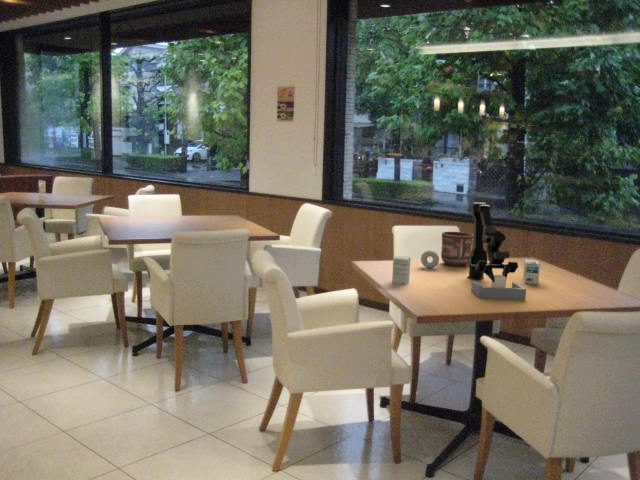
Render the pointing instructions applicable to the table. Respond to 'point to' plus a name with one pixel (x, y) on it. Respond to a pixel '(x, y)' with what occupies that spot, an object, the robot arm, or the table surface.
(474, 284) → the open-front crate
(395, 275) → the supplement box
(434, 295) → the table surface
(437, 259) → the grey ring
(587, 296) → the table surface
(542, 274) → the table surface
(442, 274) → the table surface
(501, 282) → the cream block
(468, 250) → the pottery
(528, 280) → the light bulb box
